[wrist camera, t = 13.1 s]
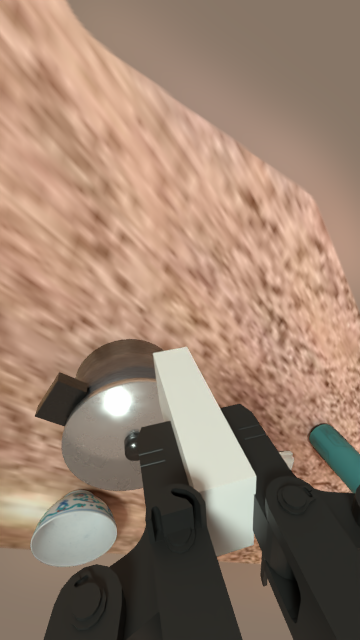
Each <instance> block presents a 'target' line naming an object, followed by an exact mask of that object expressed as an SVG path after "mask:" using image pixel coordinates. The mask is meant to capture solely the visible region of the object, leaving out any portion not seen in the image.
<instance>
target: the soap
mask: <svg viewBox="0 0 360 640" xmlns="http://www.w3.org/2000/svg"><path fill="white" fill-rule="evenodd" d="M279 454H280V455H281V456H282V458H283V459H284V461H285V462H286V464H287V465H288V467H289V468H290V470H291V469H292V466H293V463H294V458H293V456H292V455H293V453H292V452H291V451H284V452H279Z"/></svg>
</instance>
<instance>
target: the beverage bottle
mask: <svg viewBox="0 0 360 640" xmlns="http://www.w3.org/2000/svg"><path fill="white" fill-rule="evenodd" d="M309 440H310V443H311V444H312V445H313V448H314V449H315V450H316V451H317V452H318V453H319V455H320V456H321V457H322V458H323V459H324V460H325V462H327V463H328V464H329V466H330V467H331V468H332V470H333V471H334V472H335V473H336V474H337V476H339V477H340V478H341V480H342V481H343V482H344V483H345V484H346V485H347V487H348V488H349V489H350V490H351V491H352V492H353V493H355V492H356V489H357V487H358V486H359V485H360V454H359V453H358V451H356V450H355V449H354V448H353V447H352V446H351V445H350V444H349V443H348V442H347V440H346V439H345V438H344V437H343V436H342V435H341V434H340V433H339V432H338V431H337V430H336V429H334V428H333V426H330V425H328V424H323V425H320V426H318V427H316V428H315V429H314V430H313V431H312V432H311V434H310V437H309Z"/></svg>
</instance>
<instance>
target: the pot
mask: <svg viewBox="0 0 360 640" xmlns="http://www.w3.org/2000/svg"><path fill="white" fill-rule="evenodd" d="M162 351H163V350H162V349H161V348H159V347H158V346H156V345H154V344H152V343H150V342H146V341H142V340H135V339H126V340H119V341H114V342H111V343H108V344H106V345H103V346H101V347H100V348H98V349H96V350H95V351H94V352H92V353H91V354H90V355H89V356H88V357H87V358H86V359H85V360H84V361H83V363H82V364H81V366H80V367H79V369H78V372H77V374H76V378H72V377H70V376H68V375H65V374H63V373H60V372H59V374H58V375H57V377H56V379H55V380H54V382H53V383H52V385H51V386H50V388H49V390H48V391H47V393H46V394H45V396H44V397H43V399H42V401H41V402H40V404H39V405H38V408H37V411H36V414H35V417H38V418H41V419H44V420H47V421H50V422H53V423H56V424H59V425H62V426H65V424H66V421H67V419H68V417H69V416H70V414H71V412H72V411H73V410H74V408H75V407H76V406H77V405H78V404H79V403H80V402H81V401H82V400H83V399H84V398H85V397H86V396H88V395H89V394H90V393H92V392H93V391H95V390H97V389H99V388H100V387H103V386H105V385H107V384H110V383H113V382H116V381H119V380H124V379H130V378H152V379H156V374H155V366H154V359H153V353H156V352H162Z"/></svg>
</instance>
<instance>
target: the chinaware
mask: <svg viewBox="0 0 360 640" xmlns="http://www.w3.org/2000/svg"><path fill="white" fill-rule="evenodd" d="M116 537H117V527H116V523H115V520H114V517H113V514H112V512H111V510H110V509H109V507H108V506H107V505H106V503H105V502H103V501H102V500H101V499H100V498H98V497H96V496H94V495H93V494H92V493H91V492H89V491H86V490H76V491H73V492H70V493H68V494H67V495H66V496H64V498H63V499H61V500H59V501H58V502H56V503H55V504H54V505H53V506H51V507H50V508H49V509H48V511H47V512H46V513H45V514H44V516H43V517H42V518H41V520H40V522H39V523H38V525H37V527H36V529H35V532H34V534H33V536H32V539H31V545H30V546H31V551H32V554H33V555H34V556H35V558H37V559H38V560H39V561H41V562H42V563H45V564H47V565H51V566H57V567H70V566H77V565H81V564H85V563H87V562H90V561H93V560H95V559H97V558H98V557H100V556H101V555H103V554H104V553H106V552H107V551H108V550H109V549H110V548H111V547H112V545H113V544H114V542H115V540H116Z"/></svg>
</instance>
